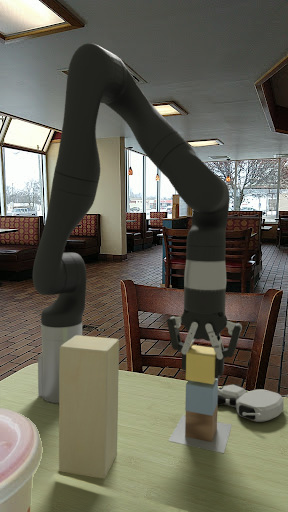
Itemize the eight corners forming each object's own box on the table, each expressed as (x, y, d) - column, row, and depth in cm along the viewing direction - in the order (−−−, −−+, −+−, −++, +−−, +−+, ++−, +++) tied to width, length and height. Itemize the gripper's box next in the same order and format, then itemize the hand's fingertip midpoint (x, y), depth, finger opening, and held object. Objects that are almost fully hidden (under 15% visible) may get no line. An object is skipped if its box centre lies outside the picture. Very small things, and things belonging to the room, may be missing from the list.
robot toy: (201, 411, 83) (263, 435, 72) (200, 391, 83) (262, 411, 72) (233, 395, 91) (293, 414, 80) (232, 376, 91) (292, 393, 80)
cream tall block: (119, 455, 65) (120, 337, 63) (106, 483, 58) (106, 351, 56) (76, 448, 67) (76, 333, 65) (58, 475, 60) (57, 346, 58)
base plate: (168, 444, 68) (168, 440, 68) (182, 418, 78) (182, 415, 78) (223, 457, 65) (223, 453, 65) (231, 428, 74) (231, 424, 74)
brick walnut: (185, 436, 70) (185, 410, 69) (191, 423, 74) (192, 398, 74) (211, 442, 68) (212, 415, 68) (216, 428, 73) (217, 403, 72)
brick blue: (185, 410, 69) (185, 384, 69) (191, 398, 74) (192, 374, 74) (212, 415, 68) (213, 388, 67) (217, 403, 72) (218, 378, 72)
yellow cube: (192, 370, 74) (193, 345, 73) (218, 374, 72) (218, 348, 71) (185, 379, 69) (186, 353, 68) (213, 384, 67) (213, 357, 67)
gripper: (161, 284, 68) (159, 376, 69) (242, 290, 63) (239, 389, 64) (173, 279, 75) (171, 362, 76) (247, 284, 70) (244, 373, 71)
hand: (202, 374), depth 70 cm, fingers closed on yellow cube, 5 cm apart
